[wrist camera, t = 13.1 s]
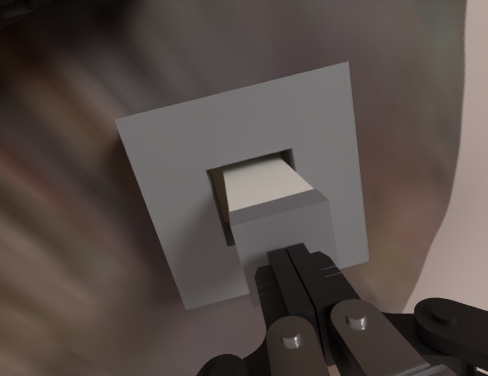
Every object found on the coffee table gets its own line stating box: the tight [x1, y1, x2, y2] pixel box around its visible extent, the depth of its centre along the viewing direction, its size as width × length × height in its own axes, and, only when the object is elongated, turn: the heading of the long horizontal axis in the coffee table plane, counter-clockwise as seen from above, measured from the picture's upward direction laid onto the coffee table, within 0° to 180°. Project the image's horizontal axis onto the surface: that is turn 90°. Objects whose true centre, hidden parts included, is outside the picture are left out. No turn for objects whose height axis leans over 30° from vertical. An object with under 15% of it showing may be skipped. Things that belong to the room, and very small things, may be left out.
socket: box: [114, 62, 369, 310], centre depth 21 cm, size 14×14×6 cm
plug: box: [222, 153, 340, 307], centre depth 17 cm, size 4×4×11 cm
